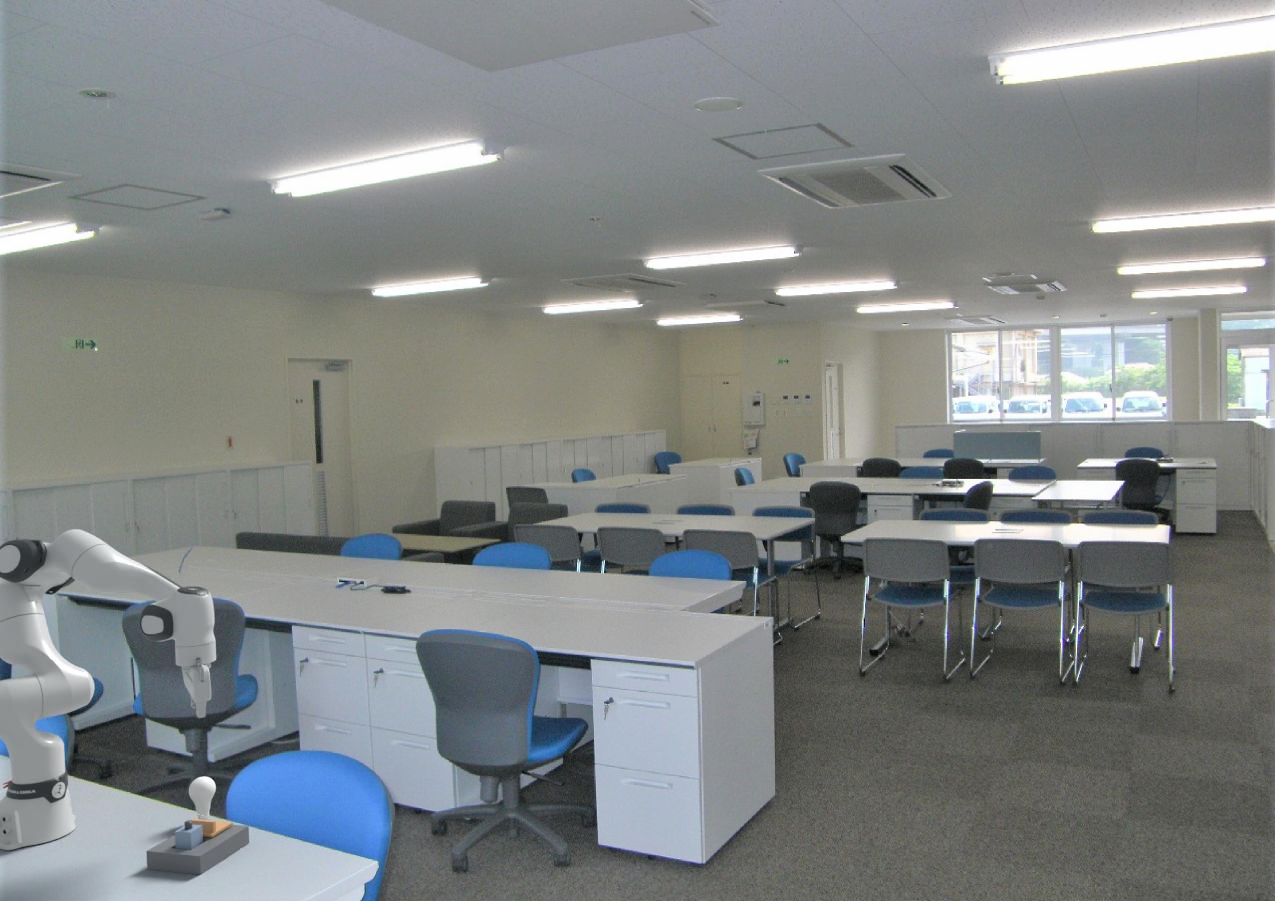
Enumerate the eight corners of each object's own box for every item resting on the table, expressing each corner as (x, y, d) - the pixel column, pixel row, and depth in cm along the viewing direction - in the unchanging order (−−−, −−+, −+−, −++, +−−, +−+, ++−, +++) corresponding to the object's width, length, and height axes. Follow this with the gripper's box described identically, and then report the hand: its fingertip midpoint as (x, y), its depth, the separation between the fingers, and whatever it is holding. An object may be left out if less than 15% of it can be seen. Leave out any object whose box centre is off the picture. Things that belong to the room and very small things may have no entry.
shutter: (187, 835, 216) (186, 821, 216) (208, 822, 223) (208, 809, 223) (212, 837, 214) (211, 823, 214) (232, 824, 221) (232, 811, 221)
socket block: (147, 869, 209) (146, 851, 209) (198, 838, 225) (197, 821, 224) (200, 874, 205) (200, 856, 205) (249, 843, 221) (248, 825, 221)
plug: (176, 862, 210) (174, 824, 210) (187, 854, 214) (186, 817, 214) (192, 863, 210) (190, 825, 210) (203, 855, 214) (202, 818, 213)
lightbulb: (206, 826, 231) (204, 782, 231) (184, 825, 232) (182, 781, 232) (222, 816, 237) (220, 773, 237) (200, 815, 238) (198, 772, 238)
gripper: (216, 660, 220) (219, 720, 220) (204, 645, 237) (206, 700, 237) (186, 665, 216) (189, 725, 217) (176, 649, 234) (179, 705, 234)
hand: (198, 712), depth 227 cm, fingers open, 8 cm apart
